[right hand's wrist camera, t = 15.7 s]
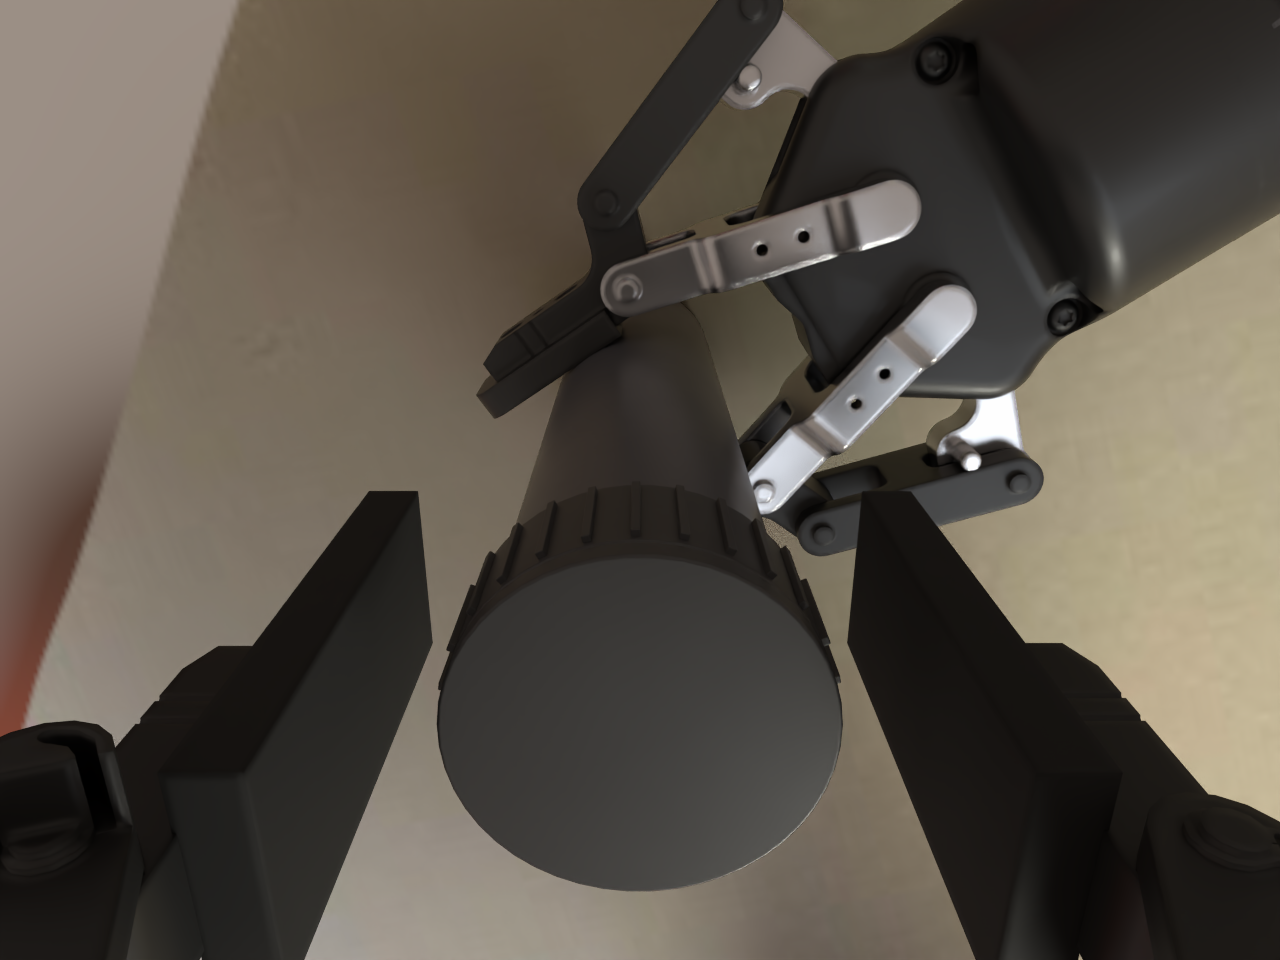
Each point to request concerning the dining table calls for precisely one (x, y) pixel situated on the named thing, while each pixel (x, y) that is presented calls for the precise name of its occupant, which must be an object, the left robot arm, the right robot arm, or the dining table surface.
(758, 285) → the dining table surface
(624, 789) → the lid
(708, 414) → the gray bottle
